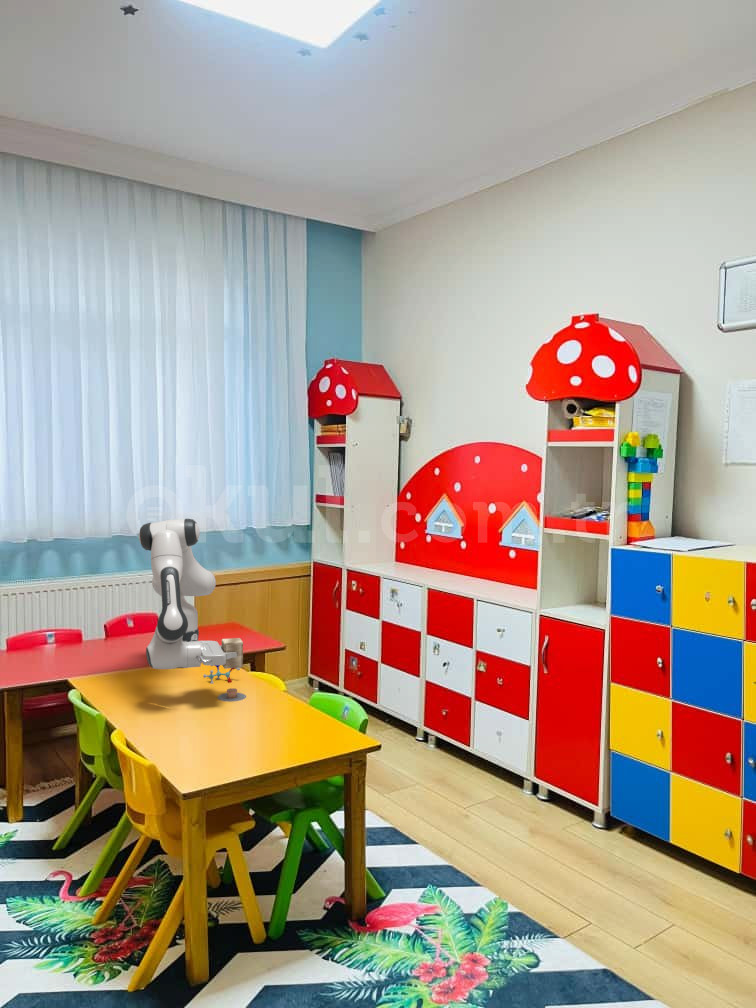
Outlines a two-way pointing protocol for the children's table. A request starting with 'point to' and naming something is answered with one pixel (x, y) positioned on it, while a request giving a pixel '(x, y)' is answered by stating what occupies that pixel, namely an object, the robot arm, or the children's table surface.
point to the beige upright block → (233, 646)
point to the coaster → (224, 698)
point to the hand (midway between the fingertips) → (234, 651)
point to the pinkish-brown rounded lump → (231, 693)
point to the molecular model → (219, 674)
